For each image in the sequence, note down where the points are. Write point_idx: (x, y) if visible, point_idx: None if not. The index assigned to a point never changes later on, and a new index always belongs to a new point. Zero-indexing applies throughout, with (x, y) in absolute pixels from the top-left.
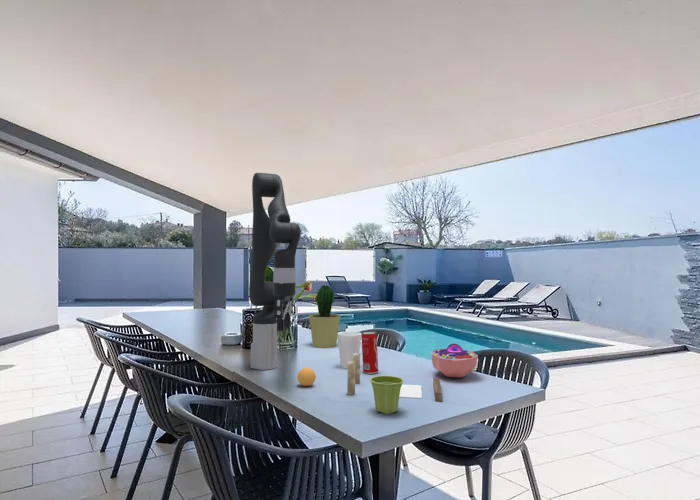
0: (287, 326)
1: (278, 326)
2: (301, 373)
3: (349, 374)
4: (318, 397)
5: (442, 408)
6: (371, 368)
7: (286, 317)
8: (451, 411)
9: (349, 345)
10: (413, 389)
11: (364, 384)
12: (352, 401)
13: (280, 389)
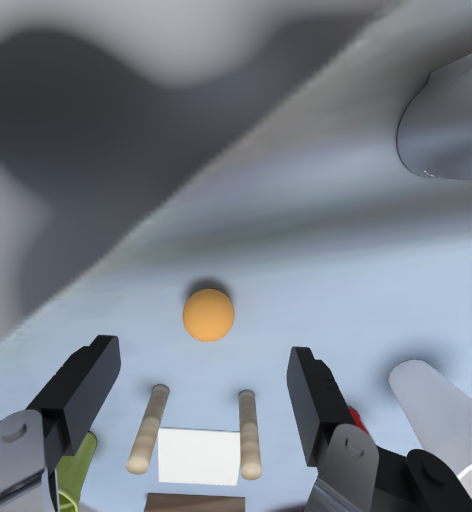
0: (289, 369)
1: (63, 372)
2: (187, 312)
3: (138, 431)
4: (121, 336)
5: (114, 496)
6: None
7: (311, 433)
8: (103, 503)
9: (425, 443)
10: (207, 475)
11: (238, 408)
12: (112, 394)
13: (167, 243)
